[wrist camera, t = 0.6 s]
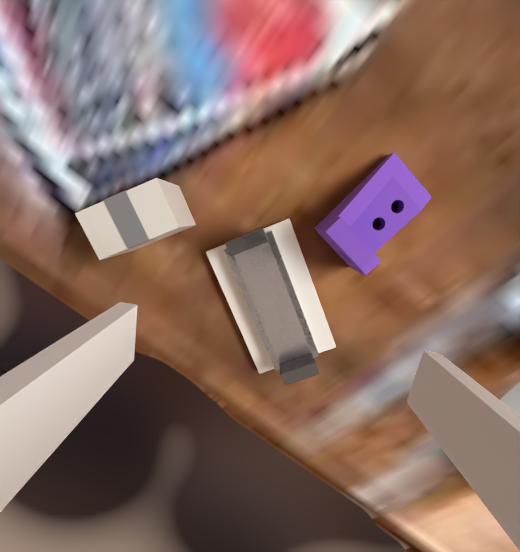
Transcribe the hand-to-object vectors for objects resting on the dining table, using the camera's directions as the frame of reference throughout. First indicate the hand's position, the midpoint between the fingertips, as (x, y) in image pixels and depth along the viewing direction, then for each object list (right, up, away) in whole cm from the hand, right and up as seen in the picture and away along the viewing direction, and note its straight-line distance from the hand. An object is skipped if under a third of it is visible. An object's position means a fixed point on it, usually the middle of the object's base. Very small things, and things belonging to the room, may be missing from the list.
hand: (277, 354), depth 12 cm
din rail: (+1, +1, +23) cm, 23 cm away
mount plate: (+1, +1, +23) cm, 23 cm away
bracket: (+13, +11, +21) cm, 27 cm away
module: (-14, +11, +21) cm, 27 cm away
